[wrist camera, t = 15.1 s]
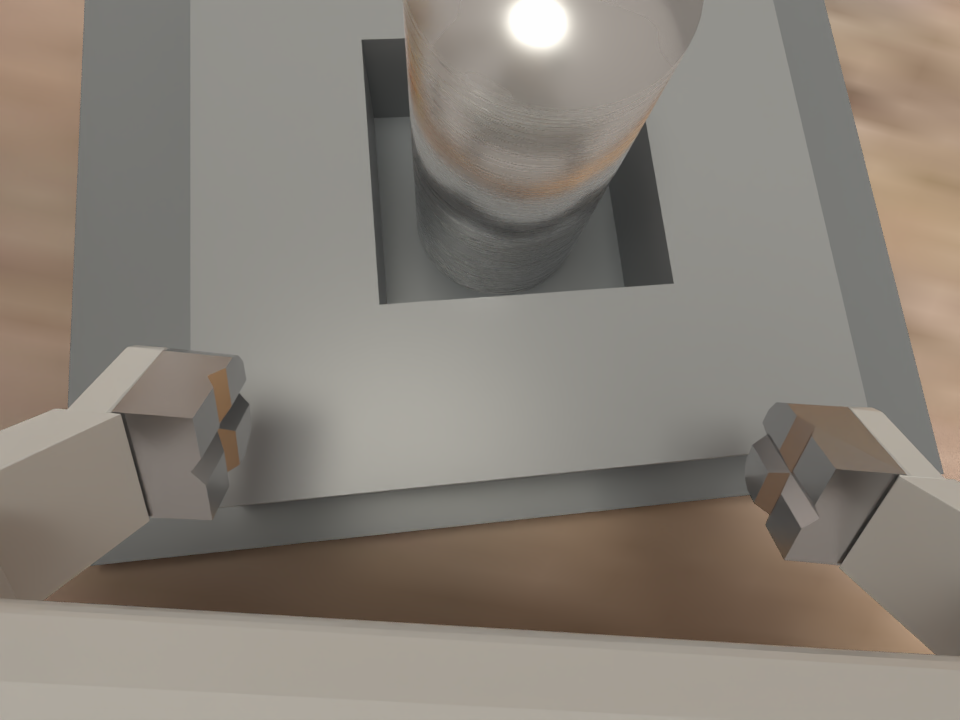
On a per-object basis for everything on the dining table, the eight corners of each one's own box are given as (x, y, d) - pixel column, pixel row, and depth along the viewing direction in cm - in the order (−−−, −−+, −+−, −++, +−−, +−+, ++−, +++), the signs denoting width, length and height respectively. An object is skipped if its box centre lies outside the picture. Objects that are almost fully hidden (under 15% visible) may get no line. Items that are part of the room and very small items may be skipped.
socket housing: (97, 561, 15) (-41, 590, 11) (113, 19, 18) (13, -128, 14) (900, 475, 17) (1059, 470, 13) (787, 1, 21) (883, -131, 16)
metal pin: (423, 300, 16) (412, 114, 8) (410, 148, 17) (390, -153, 9) (586, 288, 16) (728, 100, 8) (565, 141, 17) (677, -153, 9)
